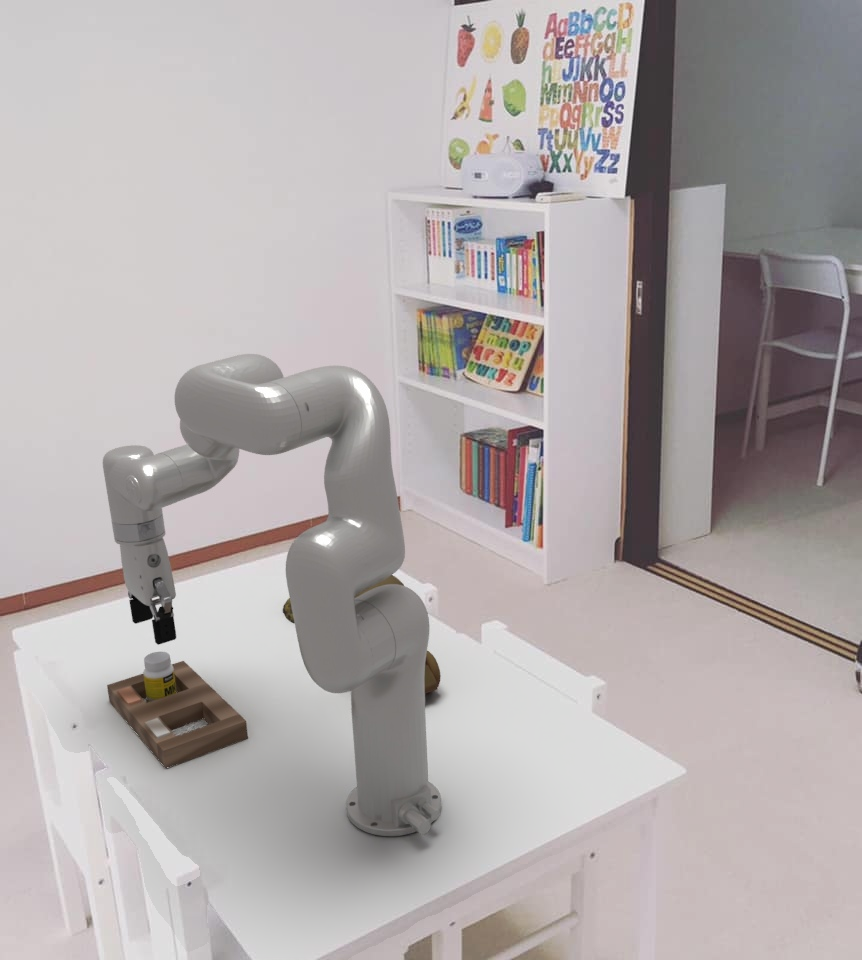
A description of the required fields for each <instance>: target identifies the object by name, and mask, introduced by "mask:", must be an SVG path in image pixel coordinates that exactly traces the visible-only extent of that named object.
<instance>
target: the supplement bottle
mask: <svg viewBox="0 0 862 960" xmlns="http://www.w3.org/2000/svg"><path fill="white" fill-rule="evenodd" d="M171 662H172V660H171V655H170V654H169V653H168V652H166V651H154V652H150V653H148V654H147V655H146V656H144V657H143V663H144V669H143V672H142V674H143V675H144V682H145V690H146V698H145V699H146V703H148V702H151V701H154V700H157V699H160V698H163V697H166V696H169V695H172V694H175V693H178V692H177V690H176V683H175V674H174V668H173V666H172V663H171Z"/></svg>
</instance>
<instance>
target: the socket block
mask: <svg viewBox="0 0 862 960" xmlns="http://www.w3.org/2000/svg"><path fill="white" fill-rule="evenodd" d="M171 665H172V666H173V668H174V674H175V683H176V691H177V693H175V694H172V695H169V696H166V697H163V698H160V699H157V700H154V701H151V702H148V703H147V701H145V699H147V698H146V690H145V682H144V675H143V673H140V674H138V675H135V676H131V677H129V678H128V677H127V678H125V679H122V680H119V681H116V682H112V683H110V684H107V685H106V687H107V693H108V694H107V695H108V701H109V703H110V704H111V705H112V707H113V708H114V709H115V710H116V712H117V713H118V714H119V715H120V716H121V717H122V719H123V720H124V719H125V720H126V721H127V722H128V723H127V722H126V721H125V720H124V721H125V722H126V723H127V724H128V726H129V725H130V726H131V727H132V728H133V729H132V728H131V727H130V726H129V727H130V728H131V729H132V730H133V732H134V731H135V732H136V733H137V734H138V735H139V736H138V735H137V734H136V733H135V732H134V733H135V734H136V735H137V736H138V738H139V737H140V738H141V739H142V740H143V741H144V742H143V741H142V740H141V739H140V738H139V739H140V740H141V741H142V742H143V744H144V743H145V744H146V745H147V746H148V747H149V748H148V747H147V746H146V745H145V744H144V745H145V746H146V747H147V748H148V750H149V749H150V750H151V751H152V752H153V753H152V752H151V751H150V750H149V751H150V752H151V753H152V755H153V756H154V755H155V756H156V757H157V758H156V757H155V756H154V757H155V758H156V759H157V760H158V759H159V760H158V762H159V761H160V762H161V763H162V764H163V765H164V766H163V765H162V764H161V763H160V762H159V763H160V764H161V765H162V766H163V768H164V767H165V768H167V767H170V766H172V765H175V766H177V765H176V764H178V765H180V764H183V763H186V762H189V761H192V760H193V759H196V758H199V757H201V756H204V755H207V754H210V753H212V752H215V751H219V750H221V749H223V748H226V747H229V746H231V745H234V744H237V743H239V742H242V741H245V740H248V739H249V735H248V725H247V720H246V719H245V718H244V717H243V716H242V715H241V714H240V713H239V712H237V710H236V709H234V707H232V706H231V704H229V703H228V702H227V701H226V700H225V699H224V698H223V697H222V696H221V695H220V694H219V693H218V692H217V691H216V690H215V689H214V688H213V687H212V686H211V685H209V684H208V683H207V681H205V679H203V678H202V677H201V676H200V675H199V673H197V672H196V671H195V670H194V669H193V668H192V667H190V666H189V664H188V663H186V662H185V660H182V661H178V662H175V663H171ZM200 720H204V721H206V723H207V725H205V726H201V727H198V728H196V729H192V730H190V731H187V732H184V733H181V734H178V735H176V734H175V733H174V732H173V731H172V730H176V729H179V728H181V727H185V726H186V725H189V724H192V723H193V724H194V723H195V722H199V721H200ZM182 762H183V763H182ZM172 767H173V766H172ZM165 768H164V769H165ZM170 768H171V767H170ZM167 769H168V768H167Z"/></svg>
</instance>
